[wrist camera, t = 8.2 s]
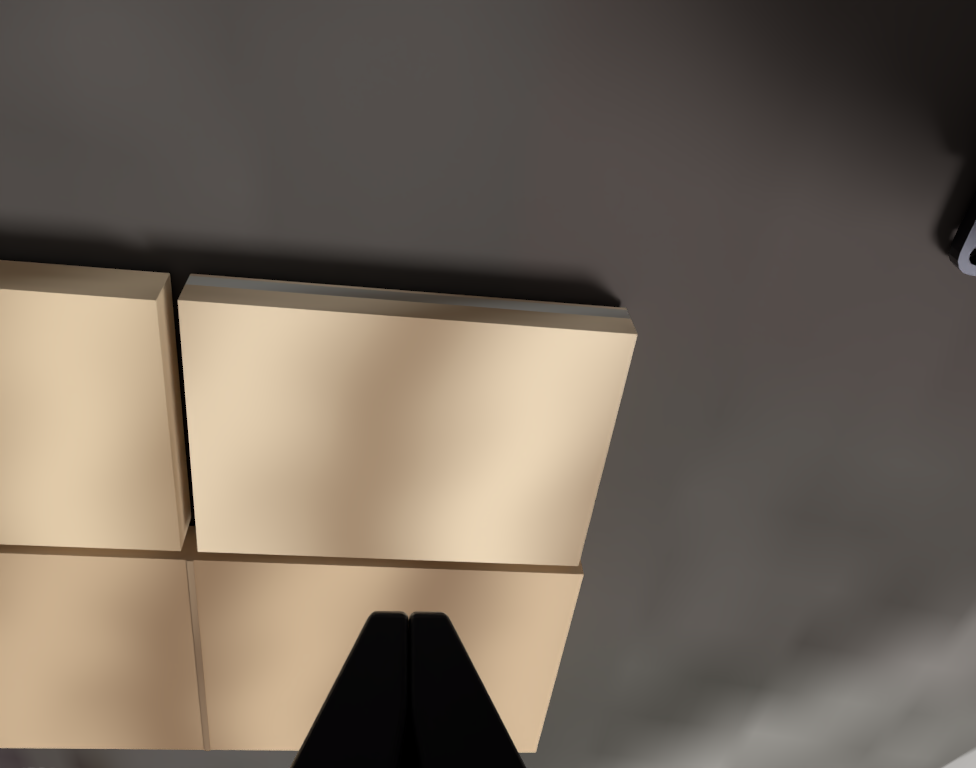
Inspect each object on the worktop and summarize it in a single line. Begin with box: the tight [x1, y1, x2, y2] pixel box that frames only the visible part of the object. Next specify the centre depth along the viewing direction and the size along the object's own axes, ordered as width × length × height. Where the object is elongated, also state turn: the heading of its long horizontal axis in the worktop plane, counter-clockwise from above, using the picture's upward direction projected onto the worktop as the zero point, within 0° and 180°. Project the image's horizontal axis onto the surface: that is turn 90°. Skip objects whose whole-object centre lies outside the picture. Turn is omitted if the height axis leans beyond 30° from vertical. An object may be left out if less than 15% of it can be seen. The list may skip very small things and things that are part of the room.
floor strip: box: [0, 526, 584, 752], centre depth 24 cm, size 20×8×1 cm, turn 83°
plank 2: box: [178, 274, 637, 566], centre depth 20 cm, size 10×7×1 cm
